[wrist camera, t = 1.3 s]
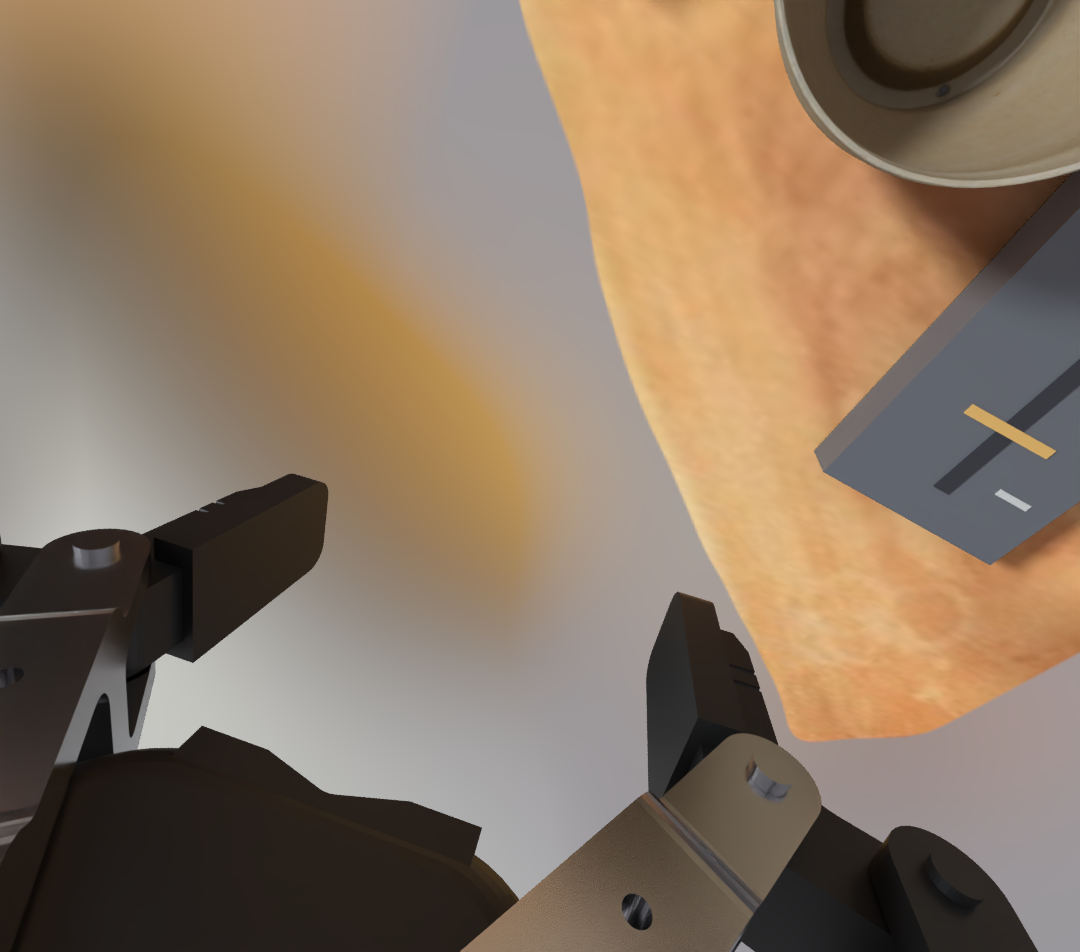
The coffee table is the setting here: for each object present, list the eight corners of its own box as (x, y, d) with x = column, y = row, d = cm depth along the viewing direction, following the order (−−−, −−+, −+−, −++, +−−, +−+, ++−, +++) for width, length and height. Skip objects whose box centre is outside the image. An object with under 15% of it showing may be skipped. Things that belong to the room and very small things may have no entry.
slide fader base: (1167, 70, 22) (1229, 55, 20) (1403, 204, 22) (1497, 206, 20) (814, 450, 34) (823, 472, 32) (968, 537, 34) (990, 566, 32)
